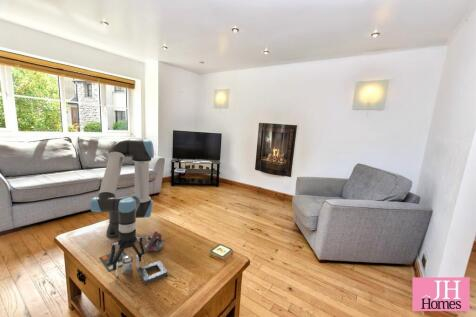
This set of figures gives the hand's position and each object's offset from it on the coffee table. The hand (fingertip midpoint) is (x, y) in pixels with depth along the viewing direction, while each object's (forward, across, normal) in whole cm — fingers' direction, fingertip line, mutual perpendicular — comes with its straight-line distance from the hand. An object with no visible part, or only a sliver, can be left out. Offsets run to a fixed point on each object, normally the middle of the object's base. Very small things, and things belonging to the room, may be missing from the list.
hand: (127, 271), depth 105 cm
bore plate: (0, +10, -8) cm, 13 cm away
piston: (0, 0, 0) cm, 0 cm away
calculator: (+1, -3, +13) cm, 14 cm away
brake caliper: (0, +18, +13) cm, 22 cm away
